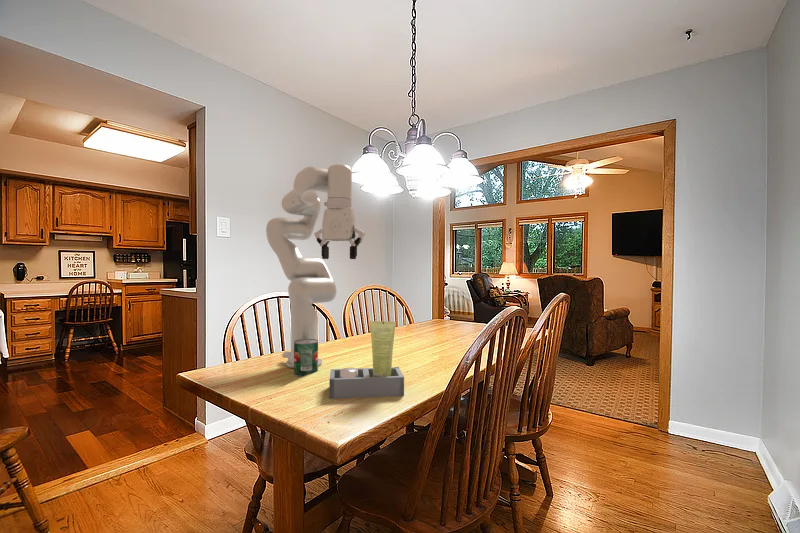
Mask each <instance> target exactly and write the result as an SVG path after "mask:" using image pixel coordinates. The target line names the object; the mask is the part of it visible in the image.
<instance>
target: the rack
mask: <svg viewBox="0 0 800 533" xmlns="http://www.w3.org/2000/svg"><path fill="white" fill-rule="evenodd" d="M355 368H356V369H358V378H340V370H341V369H342V368H330V373H329V383H328V385H329V390H328V392H329V397H328V398H329V400H334V399H335V400H336V399H339V400H340V399H356V398H357V399H360V398H378V397H379V398H382V397H383V398H384V397H401V396H402V397H404V396H405V376H404V374H403V373H402V370H401V369H400V368H399V366H392V368H391V376H386V377H373V367H361V368H360V367H359V368H357V367H355Z"/></svg>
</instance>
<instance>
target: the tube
mask: <svg viewBox="0 0 800 533" xmlns="http://www.w3.org/2000/svg"><path fill="white" fill-rule="evenodd" d="M396 326H397V321H390V320H389V321H383V320H380V321H379V320H378V321H377V320H374V321H373V320H370V321H369V328H370V336H371V351H372V353H371V354H372V368H373V377H386V376H391V368H392V367H393V366H392V364H393V363H392V362H393V352H394V351H393V349H394V340H395V331H396Z"/></svg>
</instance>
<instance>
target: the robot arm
mask: <svg viewBox="0 0 800 533" xmlns="http://www.w3.org/2000/svg"><path fill="white" fill-rule="evenodd" d="M352 172H353V171H352V169H351V167H350V166H349V165H346V164H337V163H336V164H331V165H330V166H328V168H327V169H326V168H323V167H317V166H307V167H304V168H303V169H302V170H300V171H299V172H297V173H296V175H295V177H294V182H293V189H291V190H290V191H289V192H287V193H286V194H285V195H284V196H283V198H282V199H281V202H280V203H281V208H282V210H284V211H285V212H286V213H288V214H290V215H293V216H295V215H296V216H303V218H292V217H282V216H281V217H280V216H279V217H273V218H271V219H270V220H268V222H267V224H266V228H265V232H266V234H265V235H266V239H267V242H268V244H269V246H270V248H271V249H272V251H273V252H274V253H275V255H276V256H277V258H278V261H279V263H280V266H281V268H282V271H283V274H284V275H285V277H286V279H287V280H288V281H290V282H289V285H288V287H287V291H288V298H289V304H290V351H287V350H284V351H283V353H282V354H281V355H282V358H285V359H287V360H286V362H285V363H286V364H285V365H286V367H287V368H290V369H294V341H295V340H299V339H316V340H318V339H319V338H318V337H319V328H318V327H319V317H318V316H319V315H318V312H317V311H316V309H315V308H314V306H313V304H317V303H318V304H323V303H329V302H332V301H334V300H335V298H336V295H337V285H336V283H335V281H334V279H333V276H332V275H331V272H330V270H329V267H328V266H327V265H326V263H325V261H324V260H329V258H330V247H329V246H328V245H329V244H330V243H331V242H335V241H336V242H340V241H341V242H344V241H345V242H346V241H347V242H349V244H350V246H349V259H350V260H356V259H357V256H358V247H359V245H360V244H361V243H362V241H363V239H364V237H365V234H366V232H365V231H363V230H361V229H359V228H358V227H356V219H355V213H354V212H355V211H354V210H353V208H352V191H353V190H352V186H353V185H352V184H353V183H352V177H353V176H352ZM319 192H321V193H326V194H327V199H326V201H324V202H323V206H324V207H326V208H325V209H324V212H323V218H322V223H321V224H322V225H321V228H320V229H319V230H317V231H316V232H314V229H315V226H316V224H317V222H318V219H319V218H318V217H319V215H320V212H321V207H322V205H321V201H320V198H319ZM313 232H314V233H313ZM312 234H314V237H315V239H316V242H317V243H318V244H319V246H320V247H321V258H320V257H314V256H312V257H311V256H304V255H302V253H301V251H300V249H299V248H298V246H296V244H295V243H293V242H292V241H290V240H295V241H296V240H297V241H299V240H301V241H305V240H309V239H310V238H311V237H312ZM357 234H358V237H357V238H356V236H357ZM318 341H319V340H318ZM322 364H323V361H322V359H321V358H319V357H318V367H319V366H321V365H322Z"/></svg>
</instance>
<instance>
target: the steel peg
mask: <svg viewBox="0 0 800 533" xmlns="http://www.w3.org/2000/svg"><path fill="white" fill-rule="evenodd" d="M356 368H357V367H343V368H340V369H341V370H340V378H358V369H356Z"/></svg>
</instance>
